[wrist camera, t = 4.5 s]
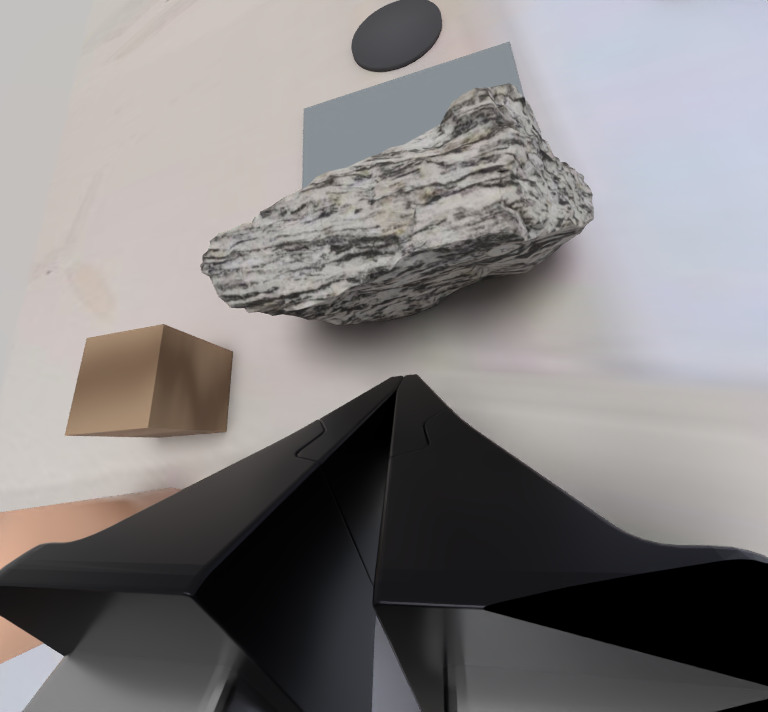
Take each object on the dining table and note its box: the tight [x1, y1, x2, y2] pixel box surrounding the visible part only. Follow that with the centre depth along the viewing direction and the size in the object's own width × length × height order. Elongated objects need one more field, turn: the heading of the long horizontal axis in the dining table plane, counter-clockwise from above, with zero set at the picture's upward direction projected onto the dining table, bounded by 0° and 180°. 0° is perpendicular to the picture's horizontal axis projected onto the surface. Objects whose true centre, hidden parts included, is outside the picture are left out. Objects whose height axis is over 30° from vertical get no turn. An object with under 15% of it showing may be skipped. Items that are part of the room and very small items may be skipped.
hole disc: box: [352, 0, 442, 71], centre depth 24 cm, size 7×7×1 cm
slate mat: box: [302, 42, 524, 189], centre depth 21 cm, size 12×15×1 cm
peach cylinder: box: [0, 488, 181, 664], centre depth 15 cm, size 5×5×7 cm
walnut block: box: [65, 324, 233, 438], centre depth 18 cm, size 5×5×5 cm
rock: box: [200, 83, 594, 325], centre depth 14 cm, size 16×8×10 cm, turn 95°
